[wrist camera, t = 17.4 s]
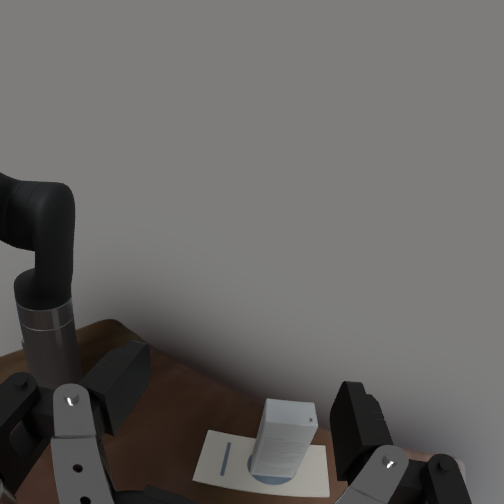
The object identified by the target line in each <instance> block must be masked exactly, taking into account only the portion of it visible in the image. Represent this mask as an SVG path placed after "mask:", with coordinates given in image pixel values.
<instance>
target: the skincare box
mask: <svg viewBox="0 0 504 504" xmlns="http://www.w3.org/2000/svg"><path fill="white" fill-rule="evenodd" d="M317 428H318V422H317V416H316V411H315V405H314V403H309V402H295V401H285V400H276V399H268V398H267V399H266V402H265V406H264V410H263V414H262V418H261V422H260V426H259V430H258V434H257V437H256V441H255V445H254V449H253V452H252V460H251V468H250V474H251V475H261V476H272V477H287V478H293V477H294V475H295V473H296V471H297V469H298V468H299V466H300V463H301V462H302V460H303V458H304V456H305V453H306V451H307V449H308V447H309V445H310V443H311V441H312V439H313V436H314V434H315V432H316V430H317Z"/></svg>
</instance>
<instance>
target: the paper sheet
mask: <svg viewBox="0 0 504 504" xmlns="http://www.w3.org/2000/svg"><path fill="white" fill-rule="evenodd" d="M255 441H256V439H254V438H248V437H242V436H237V435H231V434H226V433H221V432H217V431H212V430H208V433H207V436H206V439H205V442H204V445H203V448H202V452H201V455H200V458H199V461H198V464H197V467H196V470H195V473H194V476H193V480H192V481H196V482H200V483H205V484H209V485H214V486H219V487H224V488H229V489H235V490H241V491H247V492H255V493H263V494H272V495H283V496H299V497H329V496H330V494H329V482H328V471H327V461H326V451H325V446H321V445H309V447H308V449H307V451H306V453H305V456H304V458H303V460H302V462H301V463H300V466H299V468H298V469H297V471H296V473H295V475H294V477H293V478H287V477H272V476H261V475H251V474H250V468H251V460H252V452H253V449H254V445H255Z"/></svg>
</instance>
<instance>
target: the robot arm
mask: <svg viewBox="0 0 504 504" xmlns="http://www.w3.org/2000/svg"><path fill="white" fill-rule="evenodd" d="M74 229H75V202H74V197H73V194H72V191H71V190H70V188H69V187H68V186H67V185H65V184H63V183H57V182H37V181H21V180H17V179H14V178H11V177H8V176H6V175H4V174H2V173H0V240H1V241H3V242H5V243H7V244H9V245H11V246H13V247H16V248H20V249H25V250H30V251H35V268H33V269H30V270H27V271H25V272H23V273H21V274H20V275H19V276H17V278H16V279H15V281H14V293H15V299H16V306H17V311H18V317H19V321H20V326H21V330H22V335H23V339H22V341H21V342H22V346H23V350H24V354H25V358H26V361H27V364H28V368H29V371H30V374H29V373H25V372H19V373H15V374H13V375H11V376H10V377H9V378H8V379H6V380H5V381H4V382H3V383H2V384H1V385H0V504H17V500H16V497H15V493H16V491H17V490H18V488H19V487H20V485H21V484H22V482H23V481H24V479H25V478H26V476H27V475H28V473H29V472H30V470H31V469H32V467H33V466H34V464H35V463H36V461H37V460H38V459H39V457H40V456H41V454H42V453H43V451H44V450H45V449H46V447H47V446H48V444H49V443H50V441H51V449H52V459H53V467H54V474H55V480H56V486H57V492H58V497H59V502H60V504H197V503H195V502H193V501H191V500H189V499H187V498H185V497H183V496H181V495H179V494H175V493H172V492H169V491H165V490H162V489H159V488H156V487H153V486H150V485H147V486H146V489H145V491H136V490H128V491H118V492H117V489H116V486H115V484H114V481H113V478H112V475H111V472H110V469H109V465H108V462H107V458H106V454H105V451H104V447H103V443H102V439H101V438H102V437H103V435H104V434H105V433H107V434H110V435H112V436H115V435H116V433H117V432H118V430H119V429H120V427H121V425H122V424H123V422H124V421H125V419H126V418H127V416H128V415H129V413H130V411H131V410H132V408H133V407H134V405H135V404H136V402H137V401H138V399H139V398H140V396H141V395H142V393H143V391H144V390H145V388H146V387H147V385H148V383H149V380H150V347H149V345H148V344H146V343H142V342H139V341H136V340H130V341H129V342H128V343H127V344H126V345H125V346H124V347H123V348H120V347H117V348H115V349H113V350H110V351H108V352H107V353H106V354H105V355H104V356H103V357H102V359H101V360H99V361H98V363H97V364H96V365H95V366H94V367H93V368H92V369H91V370H90V371H89V372H88V373H87V374H86V375H85V376H84V377H83V372H82V367H81V361H80V356H79V350H78V344H77V337H76V330H75V323H74V315H73V306H72V296H71V282H72V274H73V245H74V244H73V243H74ZM20 420H21V421H22V422H21V423H20V424H19V425H18V426H17V428H16V429H15V430H14V431H13V432H12V434H11V435H10V433H11V431H12V430H13V428H14V427H15V426H16V425H17V424H18V423H19V421H20ZM330 427H331V434H332V441H333V448H334V456H335V464H336V472H337V480H338V481H347V482H348V487H347V488H346V489H345V491H344V492H343V493H342V494H341V496H340V497H339V498H338V499H337V500H336V502H335V503H334V504H472V503H471V500H470V497H469V494H468V491H467V488H466V485H465V483H464V480H463V477H462V475H461V472H460V469H459V467H458V464H457V462H456V461H455V460H454V459H453V458H452V457H451V456H449V455H446V454H436V455H434V456H432V457H431V458H430V460H429V461H428V462H423V461H416V460H411V459H408V456H407V454H406V453H405V452H404V451H403V450H402V449H401V448H399V447H396V446H394V445H393V442H392V439H391V436H390V433H389V430H388V427H387V425H386V422H385V421H384V416H383V414H382V411H381V408H380V405H379V403H378V401H376V399H375V398H374V397H373V396H372V395H369V394H366V392H365V389H364V386H363V384H362V383H361V382H349V381H344V382H343V383H342V385H341V387H340V389H339V392H338V394H337V396H336V399H335V401H334V403H333V406H332V408H331V412H330Z"/></svg>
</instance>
